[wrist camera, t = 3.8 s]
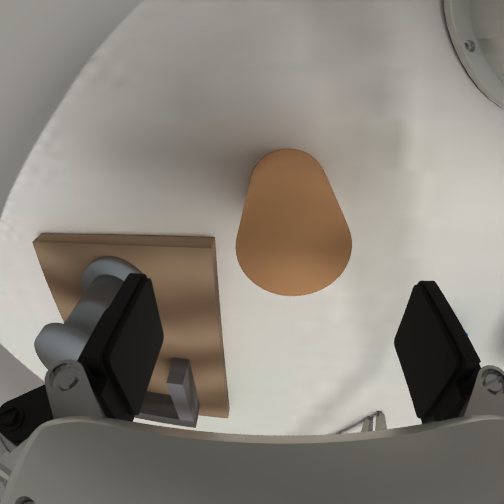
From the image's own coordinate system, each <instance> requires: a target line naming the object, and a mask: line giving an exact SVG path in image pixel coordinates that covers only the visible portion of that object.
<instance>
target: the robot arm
mask: <svg viewBox="0 0 504 504" xmlns="http://www.w3.org/2000/svg"><path fill="white" fill-rule="evenodd" d="M444 12H445V17H446V22H447V27H448V30H449V33H450V36H451V39H452V43H453V45H454V47H455V50H456V52H457V54H458V56H459V58H460V61H461V62H462V64H463V66H464V67H465V69H466V71H467V72H468V74H469V76H470V77H471V78H472V80H473V81H474V82H475V84H476V85H477V86H478V88H479V89H480V90H481V91H482V92H483V93H484V94H485V95H486V96H487V97H488V98H489V99H490V100H491V101H493V102H494V103H496V104H497V105H498V106H500V107H501V108H504V0H444ZM465 46H466V47H465ZM163 340H164V332H163V328H162V324H161V320H160V316H159V311H158V307H157V303H156V298H155V293H154V289H153V284H152V280H151V278H147V276H146V274H142V273H129V274H128V276H127V277H126V279H125V281H124V282H123V284H122V286H121V287H120V289H119V291H118V292H117V294H116V296H115V297H114V299H113V301H112V303H111V304H110V306H109V307H108V308H107V309H106V310H105V311H104V313H103V314H102V316H101V318H100V320H99V321H98V323H97V325H96V327H95V328H94V330H93V332H92V334H91V336H90V337H89V339H88V341H87V343H86V345H85V347H84V348H83V350H82V352H81V354H80V356H79V358H78V360H77V361H75V360H72V359H66V360H62V361H59V362H57V363H55V364H54V365H52V366H51V367H50V368H49V370H48V371H47V373H46V376H45V385H43V386H41V387H38V388H36V389H34V390H32V391H30V392H27V393H25V394H23V395H21V396H19V397H17V398H14V399H12V400H10V401H7V402H6V403H4V404H3V405H2V406H1V407H0V504H504V371H503V370H501V369H500V368H498V367H495V366H491V365H487V366H484V367H483V368H481V367H480V365H479V363H480V362H481V361H480V359H479V357H478V355H477V353H476V351H475V349H474V347H473V345H472V344H471V342H470V340H469V338H468V336H467V334H466V333H465V331H464V329H463V327H462V325H461V324H460V322H459V320H458V318H457V317H456V315H455V313H454V312H453V310H452V308H451V307H450V305H449V303H448V302H447V300H446V298H445V297H444V295H443V293H442V292H441V290H440V289H439V287H438V285H437V284H436V282H435V281H419V283H418V284H417V285H415V286H414V287H413V290H412V293H411V296H410V299H409V302H408V304H407V307H406V310H405V313H404V315H403V318H402V321H401V323H400V326H399V329H398V331H397V334H396V336H395V340H394V345H395V349H396V352H397V355H398V358H399V361H400V364H401V367H402V370H403V373H404V376H405V379H406V382H407V385H408V388H409V392H410V395H411V398H412V401H413V405H414V408H415V412H416V415H417V417H418V418H421V421H422V424H421V425H414V426H408V427H401V428H394V429H387V430H378V431H369V432H359V433H346V434H331V435H304V436H269V435H242V434H226V433H214V432H203V431H194V430H185V429H178V428H170V427H163V426H156V425H149V424H143V423H137V422H133V419H134V416H135V415H139V413H140V411H141V408H142V405H143V401H144V398H145V395H146V392H147V389H148V386H149V383H150V380H151V377H152V374H153V370H154V367H155V364H156V362H157V359H158V356H159V353H160V350H161V347H162V344H163Z"/></svg>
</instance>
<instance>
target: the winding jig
mask: <svg viewBox="0 0 504 504" xmlns="http://www.w3.org/2000/svg"><path fill="white" fill-rule="evenodd" d="M33 245H34V248H35V251H36V254H37V257H38V260H39V262H40V265H41V268H42V271H43V273H44V276H45V278H46V281H47V283H48V286H49V288H50V291H51V293H52V296H53V298H54V300H55V303H56V305H57V307H58V310H59V312H60V314H61V316H62V319H63V321H64V324H62V323H50V324H47V325H46V326H44V327H43V329H42V330H41V332H40V333H39V335H38V336H37V338H36V339H35V343H34V346H35V350H36V353H37V355H38V357H39V359H40V360H41V362H42V363H43V364H44V366H45V367H46V368H47V369H48V370H49V368H50V367H51V366H52V365H54V364H55V363H57V362H59V361H62V360H66V359H72V360H75V361H77V360H78V358H79V356H80V354H81V352H82V350H83V348H84V347H85V345H86V343H87V341H88V339H89V337H90V336H91V334H92V332H93V330H94V328H95V327H96V325H97V323H98V321H99V320H100V318H101V316H102V314H103V313H104V311H105V310H106V309H107V308H108V307H109V306H110V304H111V303H112V301H113V299H114V297H115V296H116V294H117V292H118V291H119V289H120V287H121V286H122V284H123V282H124V281H125V279H126V277H127V276H128V274H129V273H142V274H146V276H147V278H151V280H152V284H153V289H154V293H155V298H156V303H157V307H158V311H159V316H160V320H161V324H162V328H163V332H164V340H163V344H162V347H161V350H160V353H159V356H158V359H157V362H156V364H155V367H154V370H153V374H152V377H151V380H150V383H149V386H148V389H147V392H146V395H145V398H144V401H143V405H142V408H141V411H140V413H139V415H135V416H134V417H135V418H140V419H145V420H150V421H156V422H161V423H167V424H173V425H180V426H186V427H194V428H196V424H197V419H198V415H201V416H210V417H220V418H228V415H229V399H228V389H227V380H226V370H225V359H224V349H223V338H222V327H221V315H220V303H219V290H218V277H217V263H216V248H215V238H214V237H181V236H145V235H102V234H46V233H42V234H41V235H39V236H38V237H37V238H36V239H35V240H34V241H33Z"/></svg>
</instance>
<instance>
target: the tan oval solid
mask: <svg viewBox="0 0 504 504" xmlns="http://www.w3.org/2000/svg"><path fill="white" fill-rule="evenodd" d="M351 250H352V239H351V233H350V230H349V228H348V225H347V223H346V220H345V218H344V216H343V213H342V211H341V208H340V206H339V204H338V202H337V199H336V197H335V195H334V192H333V190H332V188H331V186H330V184H329V181H328V179H327V177H326V175H325V173H324V170H323V169H322V167H321V165H320V164H319V163H318V161H317V160H316V159H314V158H313V157H312V156H311V155H309V154H307V153H305V152H303V151H300V150H296V149H281V150H277V151H274V152H272V153H269V154H268V155H266V156H265V157H263V158H262V159H261V160H260V161H259V162H258V163H257V165H256V166H255V168H254V170H253V172H252V175H251V178H250V183H249V187H248V191H247V195H246V200H245V204H244V208H243V213H242V217H241V221H240V226H239V230H238V234H237V239H236V255H237V259H238V262H239V264H240V267H241V268H242V270H243V272H244V273H245V274H246V276H247V277H248V278H249V279H250V280H251V281H252V282H253V283H255V284H256V285H257V286H259V287H261V288H262V289H264V290H266V291H269V292H272V293H275V294H279V295H285V296H300V295H306V294H311V293H314V292H317V291H319V290H321V289H323V288H325V287H327V286H328V285H330V284H331V283H332V282H334V281H335V280H336V279H337V278H338V277H339V276H340V275H341V273H342V272H343V271H344V269H345V268H346V266H347V264H348V261H349V259H350V255H351Z"/></svg>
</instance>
